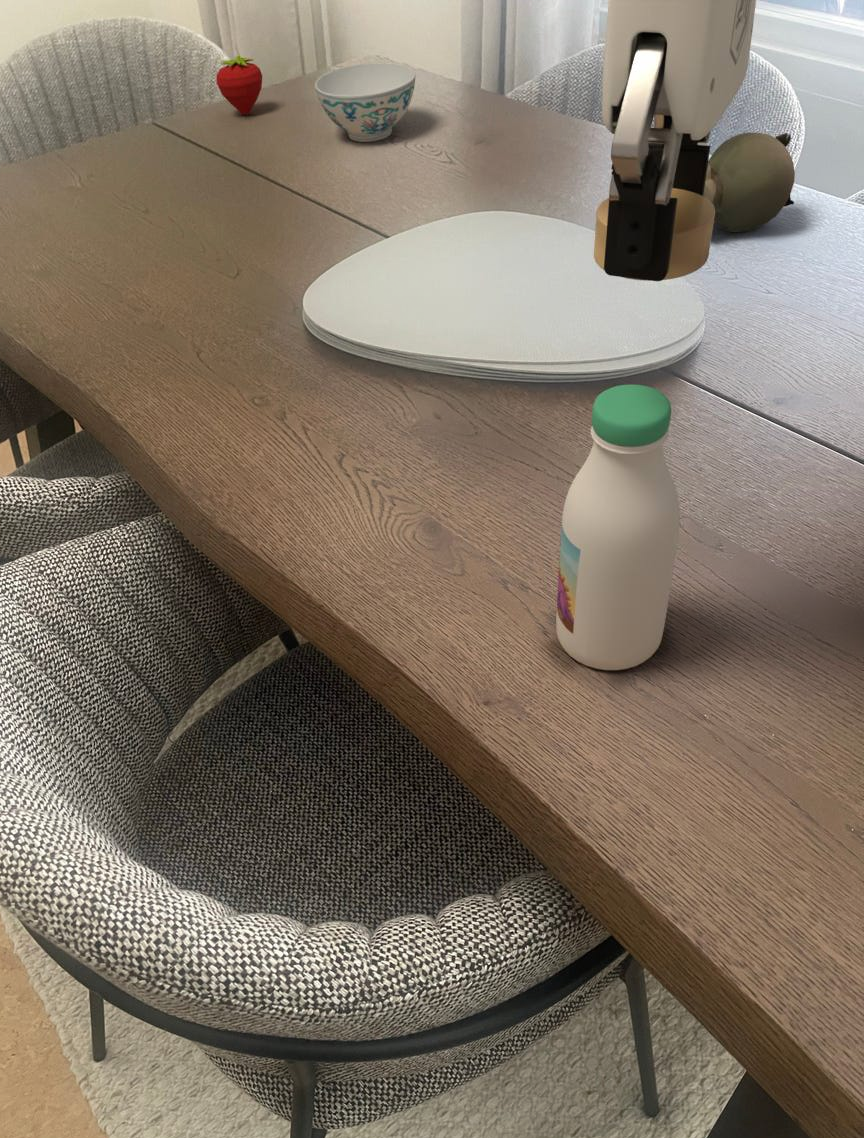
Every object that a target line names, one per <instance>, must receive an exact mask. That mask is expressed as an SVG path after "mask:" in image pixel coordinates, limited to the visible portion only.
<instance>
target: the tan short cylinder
mask: <svg viewBox="0 0 864 1138" xmlns="http://www.w3.org/2000/svg"><path fill="white" fill-rule="evenodd" d="M671 198H677V206H676V214H675V222H674V230H673V238H672V246H671V254H670V262H669V270H668V273H667V275H666V277H665V278H664V279H663V280H662V281H666V280H674V279H678V278H681V277H685V276H688V275H690V274H693V273H695V272H696V271H698V270H699V269H701V268H703V266H705V264H706V263H707V262H708V259H709V256H710V249H711V242H712V235H713V231H714V223H715V221H714V217H715V208H714V206H713V204H712V203H711V202H710V201H709V200H708V199H707V198H705V197H703V196H701V195H699V194H697V193H694V192H691V191H686V190H682V189H675V188H672V192H671ZM608 207H609V197H607V198H606V199H604V200H603V201H602V202H601V203H600V204H599V205H598V207H597V209H596V213H595V229H594V245H593V259H594V261H595V263H596V265H597V266H598V267H600V269H601V270H603V271H604V259H605V246H606V233H607V220H608ZM623 278H624V279H627V280H634V281H646V282H647V281H650V280H642V279H634V278H626V277H622V279H623ZM650 282H651V281H650Z"/></svg>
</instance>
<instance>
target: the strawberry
mask: <svg viewBox="0 0 864 1138" xmlns="http://www.w3.org/2000/svg"><path fill="white" fill-rule="evenodd" d="M234 47H235V50H236V52H237V54H238V56H235V57H234V59H229V60H228V59H227V60H222V62H221V63H220V65H222V66H223V65H225V66H223V67H221V68H220V69H219V70H218V72H217V73H216V82H215V83H216V85H217V87H218V90H219V91H220V93H221V95H222V96H223V97H224V98H225V100H226V101H228V103H229V104H230V105H232V106H233V107H234V109H236V110H237V111H238V112H239V113H240V114H241V115H242V116H248V115H250V113H251V112H252V110H253V107H254V106H255V104H256V102H257V101H258V98H259V95H260V93H261V90H262V87H263V74H262V71H261V69H260V67H259V66H258V65H256V64H255V63H252V61H255V60H254V58H248V57H241V55H240V52H239V51H238V48H237V46H236V45H234Z"/></svg>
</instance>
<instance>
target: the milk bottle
mask: <svg viewBox="0 0 864 1138" xmlns="http://www.w3.org/2000/svg"><path fill="white" fill-rule="evenodd" d="M671 418H672V405H671V401H670V399H669V397H667V395H665V394H664V393H663V392H661V391H660V390H658V389H656V388H653V387H651V386H647V385H642V384H622V385H616V386H613V387H610V388H608V389H605V390H604V391H602V392H601V393H599V394H598V395H597V397H596V398H595V400H594V402H593V405H592V411H591V425H592V426H591V428H590V435H591V438H592V440H593V444H592V447H591V449H590V452H589V454H588V456H587V458H586V460H585V462H584V463H583V465H582V466H581V468H580V469H579V471H578V472H577V474H576V476H575V477H574V479H573V480H572V482H571V484H570V486H569V489H568V491H567V495H566V498H565V501H564V506H563V510H562V517H561V527H560V539H559V554H558V556H559V558H558V573H557V574H558V575H557V595H556V617H555V619H556V620H555V631H556V636H557V640H558V641H559V643H560V646H561V647H562V649H563V650H564V651H565V652H566V653H567V654H568V656H570V657H571V658H572V659H574V660H575V661H577V662H578V663H580V664H582V665H584V666H586V667H590V668H593V669H596V670H602V671H621V670H627V669H631V668H635V667H637V666H639V665H641V664H644V662H646V661H647V660H648V659H650V658H651V657H652V656H653V655H654V654H655V653H656V651H657V650H658V649H659V647H660V645H661V642H662V639H663V634H664V630H665V624H666V618H667V612H668V607H669V599H670V594H671V587H672V582H673V574H674V569H675V568H674V567H675V563H676V562H675V561H676V556H677V555H676V554H677V547H678V541H679V540H678V539H679V531H680V520H681V519H680V518H681V514H680V513H681V508H680V499H679V495H678V491H677V487H676V485H675V482H674V479H673V477H672V475H671V473H670V470H669V468H668V465H667V461H666V457H665V452H664V444H665V443H666V441H667V440H668V437H669V429H670V423H671Z"/></svg>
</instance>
